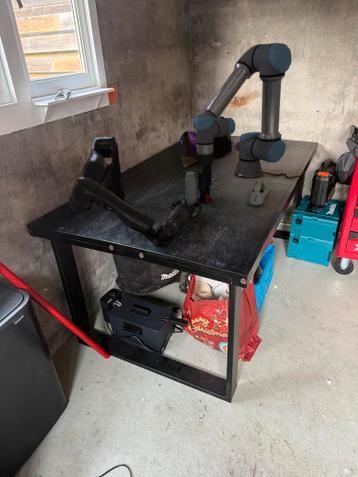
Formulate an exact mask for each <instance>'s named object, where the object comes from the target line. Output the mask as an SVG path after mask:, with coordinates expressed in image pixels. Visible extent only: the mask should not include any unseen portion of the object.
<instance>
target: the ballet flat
mask: <svg viewBox="0 0 358 477" xmlns="http://www.w3.org/2000/svg"><path fill="white" fill-rule="evenodd" d="M268 194H269V189H268V186H267V183H266V182H265V181H264V180H262V179H257V180H255V181H254V182H253V184H252V187H251V190H250V196H249V204H250V205H251V206H252V207H260V206H261V205H263V203H264V201H265V198H266V196H267V195H268Z"/></svg>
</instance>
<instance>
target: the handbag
mask: <svg viewBox="0 0 358 477" xmlns="http://www.w3.org/2000/svg"><path fill="white" fill-rule="evenodd" d="M219 118H222V119H223V118H225V116H222V115H220V117H219ZM231 141H232V134H230V135H228V136H222V137H216V138H214V140H213V159H222V158H223V157H225V156H227V155H228V154H230V153H231V152H233V147H232V146H233V144H231Z"/></svg>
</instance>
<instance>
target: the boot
mask: <svg viewBox="0 0 358 477" xmlns="http://www.w3.org/2000/svg"><path fill="white" fill-rule="evenodd" d="M188 131H189V130H186V131H184V132H183V133H182V134H181V136H182V138H181V140H182V149H181V151H180V158H181V162H182V165H183V167H184V168H186V169H187V168H189V167H191V165H193V164H195V163H196V162H197V152H193V149H192V145H191V142H190V137H189V132H188Z"/></svg>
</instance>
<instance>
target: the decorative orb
mask: <svg viewBox="0 0 358 477" xmlns="http://www.w3.org/2000/svg"><path fill="white" fill-rule="evenodd" d="M187 131H188V132H189V137H190V142H191V145H192V149H193V152H195V153H197V147H196V145H197V136H196V131H192V130H187ZM181 138H182V135H181V136H180V138H179V140H178V141H179V142H178V143H179V148H180V149H181V150H182V140H181Z"/></svg>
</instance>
